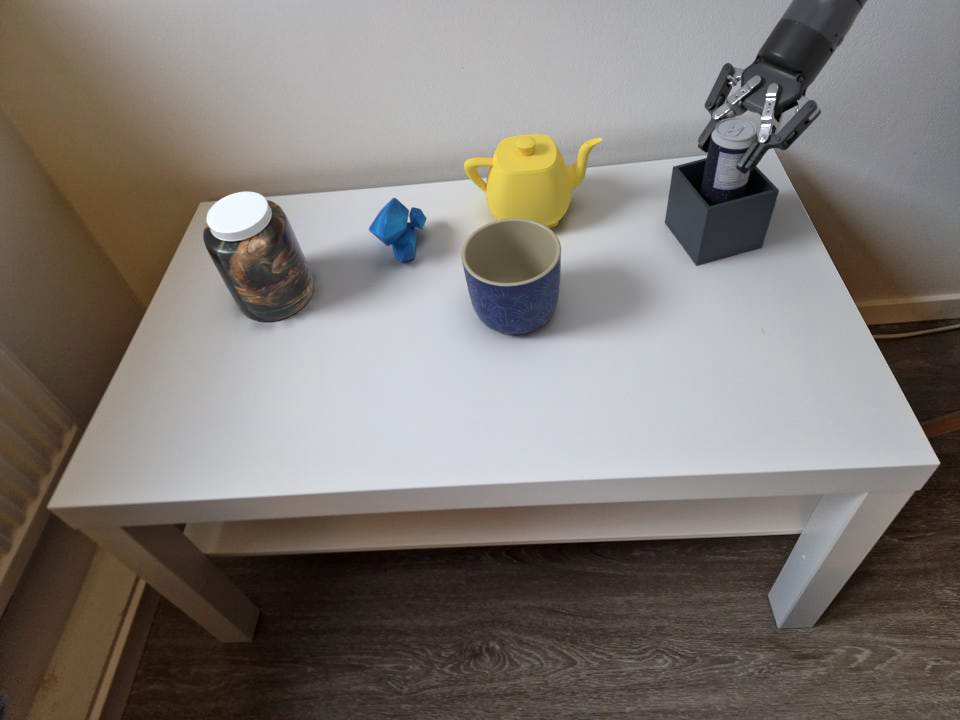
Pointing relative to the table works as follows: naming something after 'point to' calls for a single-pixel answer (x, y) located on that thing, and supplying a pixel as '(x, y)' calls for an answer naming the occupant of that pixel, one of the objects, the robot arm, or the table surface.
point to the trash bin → (718, 215)
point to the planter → (513, 274)
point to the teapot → (530, 178)
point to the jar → (258, 256)
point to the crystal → (398, 228)
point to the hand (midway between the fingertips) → (721, 160)
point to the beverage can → (727, 161)
